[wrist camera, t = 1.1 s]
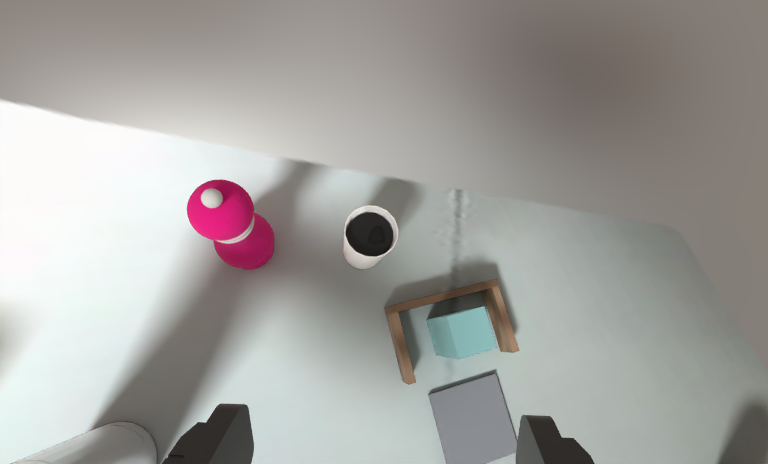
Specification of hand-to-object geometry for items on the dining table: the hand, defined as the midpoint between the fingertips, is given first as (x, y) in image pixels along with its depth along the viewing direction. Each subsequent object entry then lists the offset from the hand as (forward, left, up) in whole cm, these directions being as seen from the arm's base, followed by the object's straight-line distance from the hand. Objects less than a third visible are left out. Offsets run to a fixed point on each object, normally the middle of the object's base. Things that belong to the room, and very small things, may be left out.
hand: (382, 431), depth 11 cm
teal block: (+10, -13, -40) cm, 43 cm away
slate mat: (+1, -21, -40) cm, 45 cm away
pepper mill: (+8, +17, -40) cm, 45 cm away
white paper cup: (+15, +3, -40) cm, 43 cm away
